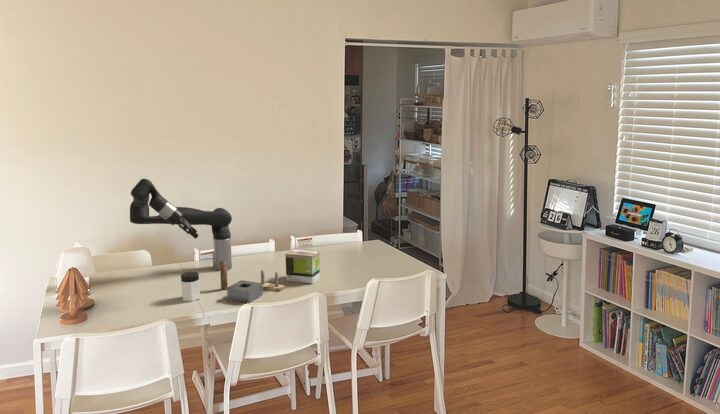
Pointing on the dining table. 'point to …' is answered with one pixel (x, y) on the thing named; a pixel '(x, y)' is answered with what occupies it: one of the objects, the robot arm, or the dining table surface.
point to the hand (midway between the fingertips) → (196, 234)
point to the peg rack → (271, 286)
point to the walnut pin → (223, 275)
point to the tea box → (302, 266)
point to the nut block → (245, 291)
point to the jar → (190, 286)
